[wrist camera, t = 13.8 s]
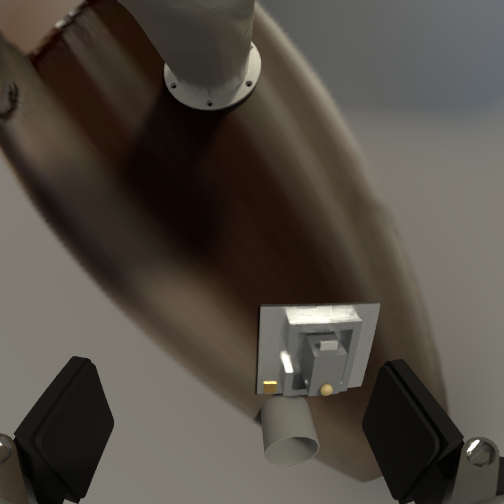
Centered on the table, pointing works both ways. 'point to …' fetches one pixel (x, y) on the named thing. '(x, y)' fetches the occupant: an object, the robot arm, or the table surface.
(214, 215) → the table surface
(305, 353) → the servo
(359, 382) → the board
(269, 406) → the cup
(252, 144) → the table surface
